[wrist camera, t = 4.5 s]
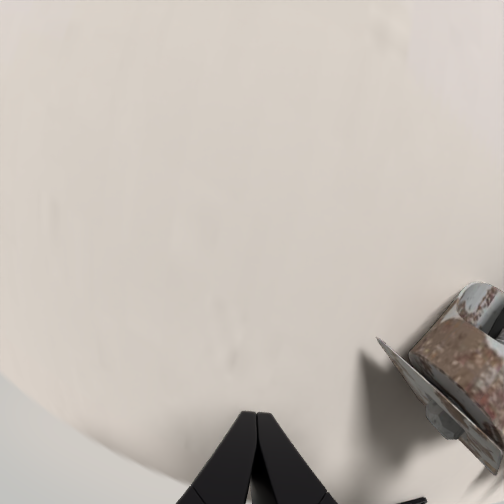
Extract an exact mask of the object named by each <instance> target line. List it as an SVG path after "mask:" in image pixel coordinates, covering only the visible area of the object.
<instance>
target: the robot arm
mask: <svg viewBox="0 0 504 504" xmlns="http://www.w3.org/2000/svg"><path fill="white" fill-rule="evenodd" d="M249 485H250V487H251V497H252V504H338V503H337V502H336V501H335V500H334V499H333V497H332V496H331V495H330V493H328V492H327V490H326V488H325V487H324V486H323V485H322V483H321V482H320V481H319V479H318V478H317V477H316V475H315V474H314V473H313V471H312V470H311V469H310V467H309V466H308V465H307V463H306V462H305V461H304V459H303V458H302V457H301V455H300V454H299V452H298V451H297V450H296V448H295V447H294V445H293V444H292V443H291V441H290V440H289V438H288V437H287V436H286V434H285V433H284V431H283V430H282V428H281V427H280V426H279V424H278V423H277V421H276V420H275V418H274V417H273V415H272V414H271V413H265V412H258V413H257V414H256V413H255V412H252V411H242V412H241V413H240V414H239V416H238V418H237V419H236V421H235V422H234V424H233V425H232V427H231V428H230V430H229V431H228V433H227V434H226V436H225V437H224V439H223V440H222V442H221V443H220V444H219V446H218V447H217V449H216V450H215V452H214V453H213V455H212V456H211V458H210V459H209V460H208V462H207V463H206V465H205V466H204V467H203V469H202V470H201V472H200V473H199V474H198V476H197V477H196V479H195V480H194V481H193V483H192V484H191V486H190V487H189V488H188V489H187V490H186V492H185V493H184V494H183V496H182V497H181V498H180V499H179V500H178V502H177V503H176V504H246V499H247V494H248V489H249ZM326 492H327V493H326ZM426 503H427V499H426V498H421V499H417V500H414V501H410V502H406V503H402V504H426Z"/></svg>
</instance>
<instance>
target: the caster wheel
mask: <svg viewBox="0 0 504 504" xmlns="http://www.w3.org/2000/svg"><path fill="white" fill-rule="evenodd" d="M376 338H377V337H376ZM377 340H378V342H379V344H380V345H381V346H382V348H383V349H384V351H385V352H386V353H387V355H388V356H389V358H390V359H391V360H392V362H393V363H394V365H395V366H396V367H397V369H398V370H399V372H400V373H401V374H402V376H403V377H404V379H405V380H406V382H407V383H408V384H409V386H410V387H411V389H412V390H413V392H414V393H415V395H416V396H417V397H418V399H419V400H420V401H421V402H422V403H423V404H424V405H425V406H426V417H427V419H428V420H429V421H430V422H431V423H432V425H433V426H434V427H435V428H436V429H437V430H438V431H439V432H440V433H441V434H442V435H443V436H444V437H445V438H446V439H459V440H460V441H461V442H462V443H463V444H464V445H465V446H466V447H467V448H468V449H469V450H470V451H471V452H472V453H473V454H474V455H475V456H476V457H477V458H478V459H479V460H480V461H481V462H482V463H483V464H484V465H485V467H486V468H487V469H488V470H489V471H490V472H491V473H492V474H493V475H497V472H498V469H499V466H500V463H501V459H502V456H503V453H502V451H504V292H502V291H501V290H499V289H498V288H496V287H494V286H492V285H490V284H487V283H483V282H472V283H470V284H468V285H467V286H465V287H464V289H463V290H462V291H461V292H460V293H459V295H458V296H457V297H456V299H455V300H454V301H453V302H452V304H451V305H450V306H449V307H448V309H447V310H446V311H445V312H444V313H443V315H442V316H441V317H440V318H439V319H438V321H437V322H436V323H435V324H434V325H433V326H432V328H431V329H430V330H429V331H428V332H427V333H426V334H425V335H424V337H423V338H422V339H421V340H420V341H419V342H418V343H417V344H416V345H415V346H414V347H413V348H412V349H411V351H410V352H409V354H408V355H409V360H410V362H411V363H412V365H413V367H414V368H415V369H414V368H413V367H412V366H410V365H409V364H408V363H407V362H406V361H405V360H404V359H403V358H401V357H400V356H399V355H398V354H397V353H396V352H395V351H394V350H393V349H391V348H390V347H389V346H388V345H387V344H386V343H385V342H383V341H382V340H381V339H379V338H377Z"/></svg>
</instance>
